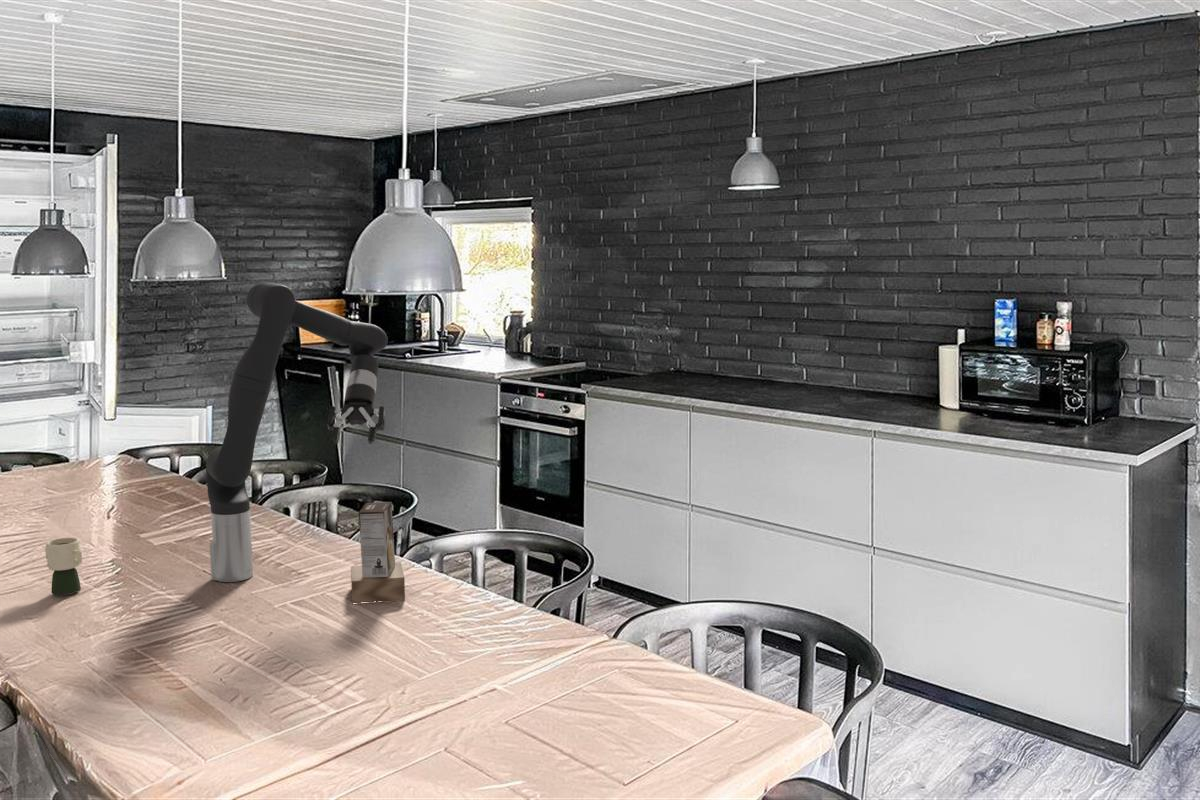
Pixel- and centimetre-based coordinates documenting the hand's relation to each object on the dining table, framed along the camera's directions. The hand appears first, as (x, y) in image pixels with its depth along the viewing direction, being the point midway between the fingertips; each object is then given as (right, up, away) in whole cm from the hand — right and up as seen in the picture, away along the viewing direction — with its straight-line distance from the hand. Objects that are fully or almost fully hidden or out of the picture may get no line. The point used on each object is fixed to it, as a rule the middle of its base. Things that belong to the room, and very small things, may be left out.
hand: (353, 442), depth 263 cm
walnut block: (+9, -36, -13) cm, 40 cm away
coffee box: (+10, -31, -14) cm, 35 cm away
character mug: (-66, -36, -13) cm, 76 cm away
